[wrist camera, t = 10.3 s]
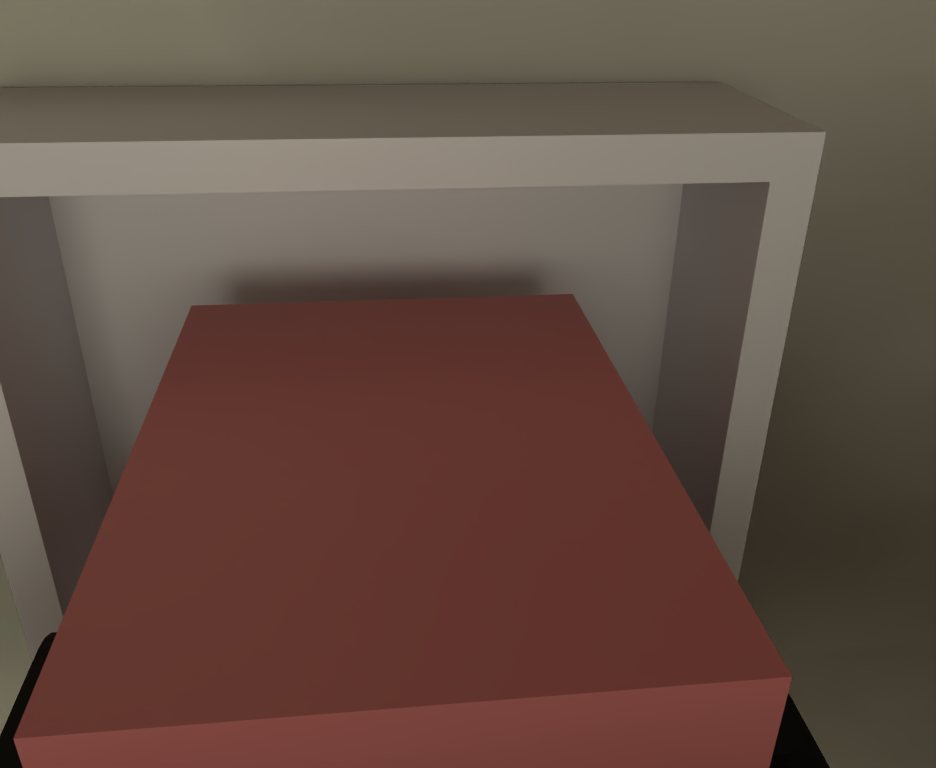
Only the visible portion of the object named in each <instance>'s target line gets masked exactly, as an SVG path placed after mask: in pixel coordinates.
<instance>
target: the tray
mask: <svg viewBox="0 0 936 768" xmlns="http://www.w3.org/2000/svg"><path fill="white" fill-rule="evenodd" d="M825 136H826V132H825V131H823V130H821V129H819V128H817V127H815V126H813V125H810V124H808V123H806V122H804V121H802V120H800V119H798V118H795V117H793V116H791V115H789V114H787V113H785V112H783V111H780V110H778V109H776V108H774V107H772V106H770V105H768V104H765V103H763V102H761V101H759V100H757V99H755V98H753V97H751V96H748V95H746V94H744V93H742V92H740V91H738V90H736V89H733V88H731V87H729V86H727V85H725V84H723V83H721V82H658V83H531V84H403V85H276V86H148V87H21V88H0V555H1V558H2V562H3V565H4V568H5V572H6V575H7V578H8V582H9V585H10V588H11V592H12V595H13V599H14V602H15V605H16V609H17V612H18V615H19V619H20V622H21V625H22V629H23V632H24V635H25V639H26V642H27V645H28V649H29V652H30V656H31V659H32V662H33V660H34V657H35V655H36V653H37V651H38V648H39V647H40V645H41V643H42V641H43V640H44V638H45V637H46V636H47V635H49V634H50V633H51V632H57V631H58V629H59V626H60V624H61V622H62V619H63V617H64V614H65V612H66V609H67V607H68V605H69V602H70V600H71V597H72V595H73V592H74V590H75V588H76V585H77V583H78V580H79V578H80V575H81V573H82V571H83V568H84V566H85V563H86V561H87V558H88V556H89V554H90V551H91V549H92V546H93V544H94V541H95V539H96V537H97V534H98V532H99V529H100V527H101V524H102V522H103V520H104V517H105V515H106V512H107V510H108V507H109V505H110V502H111V500H112V498H113V495H114V493H115V490H116V488H117V485H118V483H119V481H120V478H121V476H122V473H123V471H124V468H125V466H126V464H127V461H128V459H129V456H130V454H131V451H132V449H133V447H134V444H135V442H136V439H137V437H138V434H139V432H140V430H141V427H142V425H143V422H144V420H145V417H146V415H147V413H148V410H149V408H150V405H151V403H152V400H153V398H154V396H155V393H156V391H157V388H158V386H159V383H160V381H161V379H162V376H163V374H164V371H165V369H166V366H167V364H168V362H169V359H170V357H171V354H172V352H173V349H174V347H175V344H176V342H177V340H178V337H179V335H180V332H181V330H182V327H183V325H184V323H185V320H186V318H187V315H188V313H189V310H190V308H191V306H192V305H224V304H256V303H289V302H322V301H355V300H387V299H420V298H453V297H486V296H518V295H551V294H573V295H574V297H575V299H576V301H577V302H578V304H579V306H580V308H581V309H582V311H583V313H584V315H585V316H586V318H587V320H588V322H589V323H590V325H591V327H592V328H593V330H594V332H595V334H596V335H597V337H598V339H599V341H600V342H601V344H602V346H603V348H604V349H605V351H606V353H607V355H608V356H609V358H610V360H611V362H612V363H613V365H614V367H615V369H616V370H617V372H618V374H619V376H620V377H621V379H622V381H623V383H624V384H625V386H626V388H627V390H628V391H629V393H630V395H631V396H632V398H633V400H634V402H635V403H636V405H637V407H638V409H639V410H640V412H641V414H642V416H643V417H644V419H645V421H646V423H647V424H648V426H649V428H650V430H651V431H652V433H653V435H654V437H655V438H656V440H657V442H658V444H659V445H660V447H661V449H662V451H663V452H664V454H665V456H666V458H667V459H668V461H669V463H670V464H671V466H672V468H673V470H674V471H675V473H676V475H677V477H678V478H679V480H680V482H681V484H682V485H683V487H684V489H685V491H686V492H687V494H688V496H689V498H690V499H691V501H692V503H693V505H694V506H695V508H696V510H697V512H698V513H699V515H700V517H701V519H702V520H703V522H704V524H705V526H706V527H707V529H708V531H709V532H710V534H711V536H712V538H713V539H714V541H715V543H716V545H717V546H718V548H719V550H720V552H721V553H722V555H723V557H724V559H725V560H726V562H727V564H728V566H729V567H730V569H731V571H732V573H733V574H734V576H735V578H736V580H737V581H738V579H739V574H740V569H741V564H742V559H743V553H744V548H745V543H746V538H747V533H748V528H749V523H750V518H751V513H752V508H753V502H754V497H755V492H756V487H757V482H758V477H759V472H760V467H761V462H762V457H763V452H764V446H765V441H766V436H767V431H768V426H769V421H770V416H771V411H772V406H773V401H774V395H775V390H776V385H777V380H778V375H779V370H780V365H781V360H782V355H783V350H784V345H785V339H786V334H787V329H788V324H789V319H790V314H791V309H792V304H793V299H794V294H795V288H796V283H797V278H798V273H799V268H800V263H801V258H802V253H803V248H804V243H805V238H806V232H807V227H808V222H809V217H810V212H811V207H812V202H813V197H814V192H815V187H816V181H817V176H818V171H819V166H820V161H821V156H822V151H823V146H824V141H825Z"/></svg>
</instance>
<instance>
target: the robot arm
mask: <svg viewBox="0 0 936 768" xmlns="http://www.w3.org/2000/svg"><path fill="white" fill-rule="evenodd" d="M56 634H57V632H51V633H50V634H49V635H47V636H46V637H45V638H44V640H43V641H42V643H41V645H40V647H39V648H38V651H37V653H36V655H35V657H34V660H33V662H32V664H31V667H30V669H29V671H28V673H27V676H26V678H25V680H24V683H23V685H22V687H21V690H20V692H19V694H18V696H17V699H16V701H15V703H14V706H13V708H12V710H11V713H10V715H9V717H8V719H7V722H6V724H5V726H4V729H3V731H2V733H1V735H0V768H23V767H22V764H21V761H20V758H19V755H18V752H17V749H16V746H15V743H14V740H13V738H14V736H15V733H16V731H17V729H18V726H19V724H20V721H21V719H22V716H23V714H24V712H25V709H26V707H27V704H28V702H29V699H30V697H31V695H32V692H33V690H34V687H35V685H36V682H37V680H38V678H39V675H40V673H41V670H42V668H43V665H44V663H45V661H46V658H47V656H48V653H49V651H50V648H51V646H52V643H53V641H54V639H55V636H56ZM769 768H830V767H829V765H828V764H827V762H826V760H825V758H824V756H823V755H822V753H821V751H820V749H819V747H818V746H817V744H816V742H815V740H814V738H813V736H812V735H811V733H810V731H809V729H808V727H807V726H806V724H805V722H804V720H803V718H802V717H801V715H800V713H799V711H798V709H797V707H796V706H795V704H794V702H793V700H792V698H791V697H790V695H789V693H788V696H787V700H786V703H785V707H784V711H783V715H782V719H781V723H780V727H779V731H778V735H777V739H776V743H775V747H774V751H773V755H772V759H771V762H770V766H769Z"/></svg>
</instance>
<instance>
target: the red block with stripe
mask: <svg viewBox="0 0 936 768" xmlns="http://www.w3.org/2000/svg"><path fill="white" fill-rule="evenodd" d="M791 680H792V675H791V674H790V672H789V670H788V668H787V667H786V665H785V663H784V662H783V660H782V658H781V656H780V655H779V653H778V651H777V649H776V648H775V646H774V644H773V642H772V641H771V639H770V637H769V635H768V634H767V632H766V630H765V628H764V627H763V625H762V623H761V621H760V620H759V618H758V616H757V614H756V613H755V611H754V609H753V607H752V606H751V604H750V602H749V600H748V599H747V597H746V595H745V594H744V592H743V590H742V588H741V587H740V585H739V583H738V581H737V580H736V578H735V576H734V574H733V573H732V571H731V569H730V567H729V566H728V564H727V562H726V560H725V559H724V557H723V555H722V553H721V552H720V550H719V548H718V546H717V545H716V543H715V541H714V539H713V538H712V536H711V534H710V532H709V531H708V529H707V527H706V526H705V524H704V522H703V520H702V519H701V517H700V515H699V513H698V512H697V510H696V508H695V506H694V505H693V503H692V501H691V499H690V498H689V496H688V494H687V492H686V491H685V489H684V487H683V485H682V484H681V482H680V480H679V478H678V477H677V475H676V473H675V471H674V470H673V468H672V466H671V464H670V463H669V461H668V459H667V458H666V456H665V454H664V452H663V451H662V449H661V447H660V445H659V444H658V442H657V440H656V438H655V437H654V435H653V433H652V431H651V430H650V428H649V426H648V424H647V423H646V421H645V419H644V417H643V416H642V414H641V412H640V410H639V409H638V407H637V405H636V403H635V402H634V400H633V398H632V396H631V395H630V393H629V391H628V390H627V388H626V386H625V384H624V383H623V381H622V379H621V377H620V376H619V374H618V372H617V370H616V369H615V367H614V365H613V363H612V362H611V360H610V358H609V356H608V355H607V353H606V351H605V349H604V348H603V346H602V344H601V342H600V341H599V339H598V337H597V335H596V334H595V332H594V330H593V328H592V327H591V325H590V323H589V322H588V320H587V318H586V316H585V315H584V313H583V311H582V309H581V308H580V306H579V304H578V302H577V301H576V299H575V297H574V295H573V294H551V295H518V296H486V297H453V298H420V299H387V300H355V301H322V302H289V303H256V304H224V305H192V306H191V308H190V310H189V313H188V315H187V318H186V320H185V323H184V325H183V327H182V330H181V332H180V335H179V337H178V340H177V342H176V344H175V347H174V349H173V352H172V354H171V357H170V359H169V362H168V364H167V366H166V369H165V371H164V374H163V376H162V379H161V381H160V383H159V386H158V388H157V391H156V393H155V396H154V398H153V400H152V403H151V405H150V408H149V410H148V413H147V415H146V417H145V420H144V422H143V425H142V427H141V430H140V432H139V434H138V437H137V439H136V442H135V444H134V447H133V449H132V451H131V454H130V456H129V459H128V461H127V464H126V466H125V468H124V471H123V473H122V476H121V478H120V481H119V483H118V485H117V488H116V490H115V493H114V495H113V498H112V500H111V502H110V505H109V507H108V510H107V512H106V515H105V517H104V520H103V522H102V524H101V527H100V529H99V532H98V534H97V537H96V539H95V541H94V544H93V546H92V549H91V551H90V554H89V556H88V558H87V561H86V563H85V566H84V568H83V571H82V573H81V575H80V578H79V580H78V583H77V585H76V588H75V590H74V592H73V595H72V597H71V600H70V602H69V605H68V607H67V609H66V612H65V614H64V617H63V619H62V622H61V624H60V626H59V629H58V631H57V634H56V636H55V639H54V641H53V643H52V646H51V648H50V651H49V653H48V656H47V658H46V661H45V663H44V665H43V668H42V670H41V673H40V675H39V678H38V680H37V682H36V685H35V687H34V690H33V692H32V695H31V697H30V699H29V702H28V704H27V707H26V709H25V712H24V714H23V716H22V719H21V721H20V724H19V726H18V729H17V731H16V733H15V736H14V738H13V740H14V743H15V746H16V749H17V752H18V755H19V758H20V761H21V764H22V767H23V768H769V766H770V762H771V759H772V755H773V751H774V747H775V743H776V739H777V735H778V731H779V727H780V723H781V719H782V715H783V711H784V707H785V703H786V700H787V696H788V692H789V688H790V684H791Z"/></svg>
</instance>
